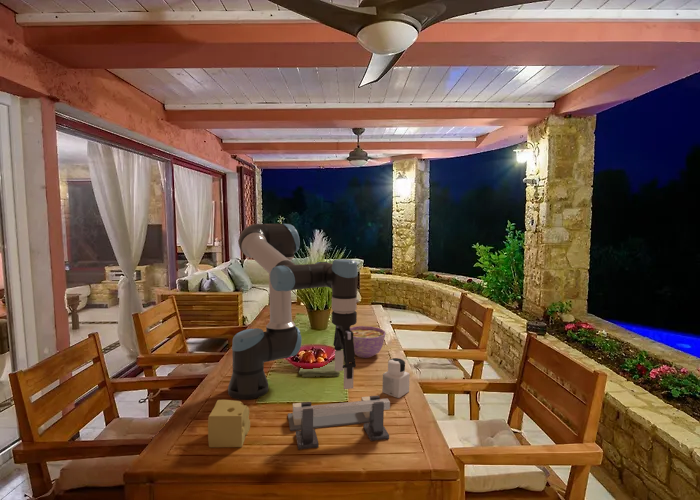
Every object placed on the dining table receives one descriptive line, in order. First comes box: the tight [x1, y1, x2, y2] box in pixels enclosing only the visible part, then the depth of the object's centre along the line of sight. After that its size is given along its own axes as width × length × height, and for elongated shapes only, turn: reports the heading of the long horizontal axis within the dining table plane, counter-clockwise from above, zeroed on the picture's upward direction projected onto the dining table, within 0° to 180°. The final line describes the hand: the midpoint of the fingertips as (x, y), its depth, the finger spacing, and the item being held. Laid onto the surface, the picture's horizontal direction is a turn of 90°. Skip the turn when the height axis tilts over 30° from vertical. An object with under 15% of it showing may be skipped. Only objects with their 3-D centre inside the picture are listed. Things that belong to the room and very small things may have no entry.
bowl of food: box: [350, 325, 387, 359], centre depth 194 cm, size 20×20×12 cm
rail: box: [292, 398, 391, 419], centre depth 122 cm, size 30×2×2 cm, turn 103°
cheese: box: [207, 399, 251, 448], centre depth 120 cm, size 10×11×10 cm
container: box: [381, 357, 411, 399], centre depth 153 cm, size 8×8×13 cm
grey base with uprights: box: [287, 396, 370, 432], centre depth 134 cm, size 31×10×5 cm, turn 103°
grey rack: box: [295, 395, 390, 451], centre depth 122 cm, size 28×8×11 cm, turn 103°
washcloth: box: [298, 360, 341, 378], centre depth 173 cm, size 13×18×3 cm
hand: (343, 378), depth 121 cm, fingers open, 13 cm apart
